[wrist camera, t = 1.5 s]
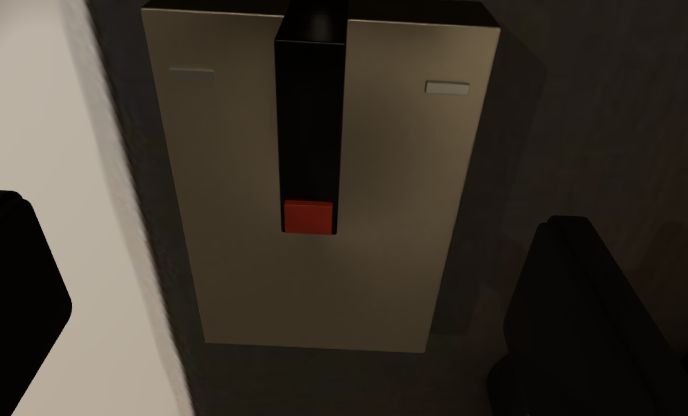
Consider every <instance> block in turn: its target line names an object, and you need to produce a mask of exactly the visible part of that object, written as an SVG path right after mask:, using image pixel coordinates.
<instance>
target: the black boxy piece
mask: <svg viewBox="0 0 688 416" xmlns="http://www.w3.org/2000/svg"><path fill="white" fill-rule="evenodd" d="M348 8H349V0H291V1H290V4H289V6H288V8H287V11H286V13H285V16H284V18H283V20H282V23H281V25H280V27H279V30H278V32H277V34H276V37H275V39H274V60H275V86H276V111H277V137H278V162H279V187H280V213H281V231H282V232H285V233H297V234H317V235H336V234H337V224H338V205H339V186H340V167H341V148H342V128H343V108H344V88H345V68H346V48H347V28H348Z"/></svg>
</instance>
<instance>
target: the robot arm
mask: <svg viewBox="0 0 688 416" xmlns="http://www.w3.org/2000/svg"><path fill="white" fill-rule="evenodd" d="M71 312H72V302H71V298H70V296H69V294H68V291H67V289H66V286H65V284H64V282H63V279H62V277H61V274H60V272H59V270H58V267H57V265H56V262H55V260H54V258H53V255H52V253H51V250H50V248H49V246H48V243H47V241H46V238H45V236H44V233H43V231H42V229H41V226H40V224H39V221H38V219H37V217H36V214H35V212H34V209H33V207H32V205H31V203H30V202H29V201H27V200H25V199H23V198H22V196H21V195H20V194H19V193H17V192H15V191H5V190H0V416H11V415H12V413H13V411H14V410H15V408H16V407H17V405H18V403H19V402H20V400H21V398H22V397H23V395H24V393H25V392H26V390H27V388H28V386H29V385H30V383H31V382H32V380H33V378H34V377H35V375H36V373H37V372H38V370H39V368H40V367H41V365H42V363H43V362H44V360H45V358H46V357H47V355H48V353H49V352H50V350H51V348H52V347H53V345H54V344H55V342H56V340H57V339H58V337H59V335H60V334H61V332H62V330H63V328H64V327H65V325H66V324H67V322H68V320H69V318H70V316H71ZM503 330H504V337H505V340H506V344H507V347H508V350H509V353H510V357H511V360H512V363H513V366H514V369H515V373H516V376H517V379H518V382H519V385H520V389H521V392H522V395H523V398H524V402H525V405H526V408H527V411H528V414H529V416H688V375H687V373H686V371H685V370H684V368H683V367H682V365H681V364H680V362H679V360H678V359H677V357H676V356H675V354H674V353H673V351H672V349H671V348H670V346H669V345H668V343H667V342H666V340H665V338H664V337H663V335H662V334H661V332H660V331H659V329H658V327H657V326H656V324H655V323H654V321H653V320H652V318H651V316H650V315H649V313H648V312H647V310H646V309H645V307H644V305H643V304H642V302H641V301H640V299H639V298H638V296H637V294H636V293H635V291H634V290H633V288H632V287H631V285H630V283H629V282H628V280H627V279H626V277H625V276H624V274H623V272H622V271H621V269H620V268H619V266H618V265H617V263H616V261H615V260H614V258H613V257H612V255H611V254H610V252H609V250H608V249H607V247H606V246H605V244H604V243H603V241H602V239H601V238H600V236H599V235H598V233H597V232H596V230H595V228H594V227H593V225H592V224H591V222H590V221H589V220H588V219H587V218H586V217H580V216H558V215H554V216H551V217H550V218H549V219H548V221H547V223H540V224H539V226H538V228H537V230H536V233H535V235H534V238H533V241H532V244H531V246H530V249H529V252H528V255H527V257H526V260H525V263H524V266H523V269H522V271H521V274H520V277H519V280H518V282H517V285H516V288H515V291H514V293H513V296H512V299H511V302H510V305H509V307H508V310H507V313H506V316H505V319H504V325H503Z"/></svg>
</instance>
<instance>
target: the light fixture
mask: <svg viewBox="0 0 688 416" xmlns="http://www.w3.org/2000/svg"><path fill="white" fill-rule="evenodd" d="M680 364H681V365H682V367H683V368H684V370H685V371H686V373H687V375H688V354H687V356H686V357H685V358H684V359H683V360H682V362H681V363H680ZM487 392H488V396H489V401H490V405H491V409H492V413H493V416H529V414H528V411H527V408H526V405H525V402H524V398H523V395H522V392H521V389H520V385H519V382H518V379H517V376H516V373H515V369H514V366H513V363H512V360H511V357H510V354H509V355H508V356H506V357H505V358H503V359H502V360H501V361H500V362H499V363H498V364H497V365H496V366H495V367H494V368H493V369H492V371H491V372H490V374H489V376H488V379H487Z"/></svg>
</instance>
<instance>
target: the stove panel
mask: <svg viewBox="0 0 688 416" xmlns="http://www.w3.org/2000/svg"><path fill="white" fill-rule="evenodd" d="M290 1H291V0H150V1H149V2H148V3H146V4H145V5H144V6H142V7H141V14H142V19H143V24H144V29H145V34H146V40H147V45H148V50H149V55H150V60H151V65H152V70H153V76H154V81H155V86H156V91H157V96H158V101H159V106H160V111H161V117H162V122H163V127H164V132H165V137H166V142H167V147H168V153H169V158H170V163H171V168H172V173H173V178H174V183H175V188H176V194H177V199H178V204H179V209H180V214H181V219H182V224H183V230H184V235H185V240H186V245H187V250H188V255H189V260H190V265H191V271H192V276H193V281H194V286H195V291H196V296H197V301H198V306H199V312H200V317H201V322H202V327H203V332H204V337H205V342H206V343H222V344H243V345H264V346H285V347H306V348H327V349H348V350H369V351H390V352H411V353H425V350H426V346H427V342H428V338H429V333H430V329H431V325H432V321H433V316H434V312H435V308H436V304H437V299H438V295H439V291H440V287H441V283H442V278H443V274H444V270H445V266H446V261H447V257H448V253H449V249H450V244H451V240H452V236H453V232H454V227H455V223H456V219H457V215H458V211H459V206H460V202H461V198H462V194H463V189H464V185H465V181H466V177H467V172H468V168H469V164H470V160H471V155H472V151H473V147H474V143H475V138H476V134H477V130H478V126H479V122H480V117H481V113H482V109H483V105H484V100H485V96H486V92H487V88H488V83H489V79H490V75H491V71H492V66H493V62H494V58H495V54H496V50H497V45H498V41H499V37H500V33H501V27H500V25H499V24H498V23H497V22H496V20H495V19H494V18H493V16H492V15H491V14H490V13H489V11H488V10H487V9H486V8H485V6H484V5H483V4H482V3H481V2H469V1H451V0H349V8H348V28H347V48H346V68H345V88H344V108H343V128H342V148H341V167H340V186H339V205H338V224H337V234H336V235H317V234H297V233H285V232H282V231H281V213H280V187H279V162H278V137H277V111H276V86H275V60H274V39H275V37H276V34H277V32H278V30H279V27H280V25H281V23H282V20H283V18H284V16H285V13H286V11H287V8H288V6H289V4H290Z"/></svg>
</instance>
